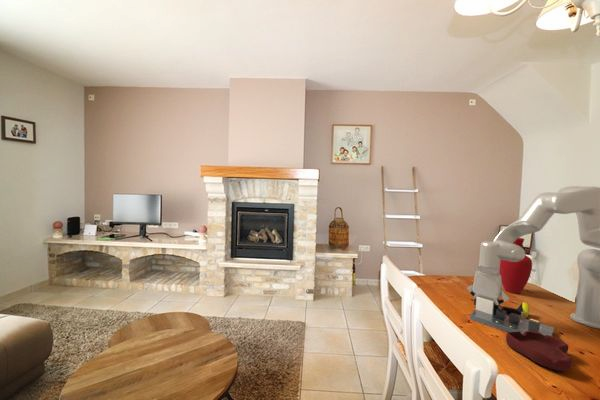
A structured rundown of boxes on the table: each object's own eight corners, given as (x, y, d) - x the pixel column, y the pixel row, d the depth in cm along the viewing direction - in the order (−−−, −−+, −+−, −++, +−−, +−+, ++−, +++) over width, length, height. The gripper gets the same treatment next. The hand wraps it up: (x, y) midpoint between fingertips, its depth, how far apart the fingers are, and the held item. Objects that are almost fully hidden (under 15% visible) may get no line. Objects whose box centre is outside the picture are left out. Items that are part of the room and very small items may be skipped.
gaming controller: (487, 305, 131) (489, 314, 122) (488, 294, 131) (490, 302, 122) (527, 314, 123) (533, 323, 115) (528, 302, 123) (534, 310, 114)
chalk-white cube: (495, 310, 121) (496, 298, 121) (492, 314, 117) (493, 302, 116) (479, 305, 125) (480, 294, 125) (475, 309, 121) (476, 297, 121)
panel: (553, 332, 108) (554, 318, 107) (548, 346, 98) (550, 331, 97) (480, 309, 126) (481, 297, 126) (469, 319, 116) (470, 306, 116)
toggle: (539, 329, 105) (540, 320, 105) (538, 332, 103) (539, 323, 103) (529, 326, 107) (530, 317, 107) (528, 328, 105) (528, 320, 105)
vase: (490, 288, 155) (494, 235, 153) (505, 285, 161) (509, 234, 159) (520, 298, 141) (524, 241, 140) (535, 294, 147) (540, 239, 146)
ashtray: (506, 335, 104) (507, 322, 104) (566, 353, 94) (567, 339, 94) (503, 356, 91) (504, 342, 90) (572, 380, 80) (574, 364, 80)
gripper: (464, 266, 124) (461, 305, 125) (511, 277, 111) (507, 320, 112) (469, 263, 129) (466, 301, 130) (515, 273, 116) (511, 314, 117)
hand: (485, 309), depth 121 cm, fingers closed on chalk-white cube, 6 cm apart
